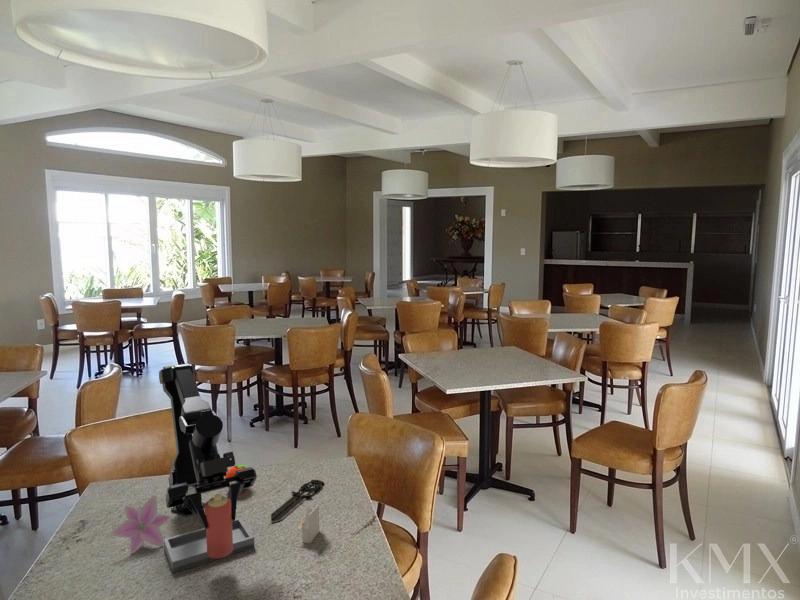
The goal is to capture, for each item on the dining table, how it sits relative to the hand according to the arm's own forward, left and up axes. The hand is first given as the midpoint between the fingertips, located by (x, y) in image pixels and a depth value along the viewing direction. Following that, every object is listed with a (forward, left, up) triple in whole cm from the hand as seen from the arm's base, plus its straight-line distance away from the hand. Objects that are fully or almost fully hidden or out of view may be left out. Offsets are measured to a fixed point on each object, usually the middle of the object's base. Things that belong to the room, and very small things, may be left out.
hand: (220, 524), depth 116 cm
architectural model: (+8, +21, -12) cm, 25 cm away
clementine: (-26, +33, -12) cm, 43 cm away
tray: (-10, +6, -11) cm, 16 cm away
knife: (-6, +34, -12) cm, 36 cm away
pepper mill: (-1, +1, -7) cm, 7 cm away
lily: (-26, +1, -12) cm, 29 cm away
